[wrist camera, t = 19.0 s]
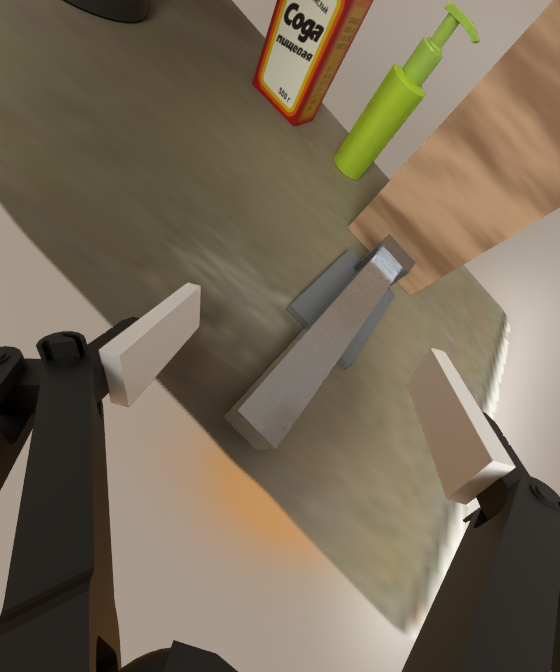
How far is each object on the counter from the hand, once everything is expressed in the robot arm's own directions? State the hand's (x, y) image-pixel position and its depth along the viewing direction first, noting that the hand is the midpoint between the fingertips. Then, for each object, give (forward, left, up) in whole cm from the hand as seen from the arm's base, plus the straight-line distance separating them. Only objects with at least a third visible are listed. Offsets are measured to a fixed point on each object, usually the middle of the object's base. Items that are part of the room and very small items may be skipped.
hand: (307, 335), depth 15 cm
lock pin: (-3, +10, -9) cm, 13 cm away
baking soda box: (-45, +21, -10) cm, 50 cm away
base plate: (-6, +15, -10) cm, 19 cm away
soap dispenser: (-32, +30, -10) cm, 44 cm away
